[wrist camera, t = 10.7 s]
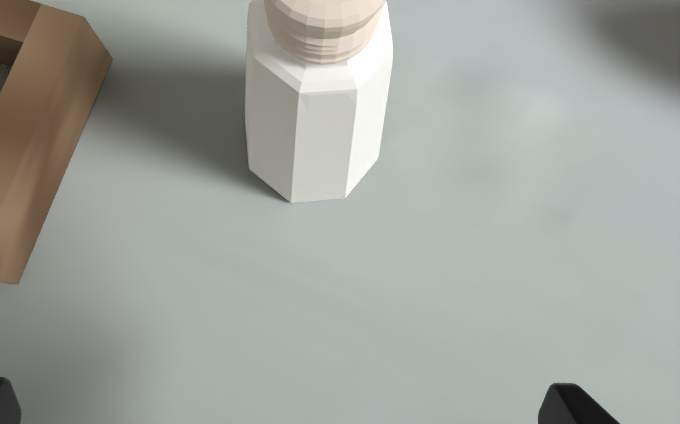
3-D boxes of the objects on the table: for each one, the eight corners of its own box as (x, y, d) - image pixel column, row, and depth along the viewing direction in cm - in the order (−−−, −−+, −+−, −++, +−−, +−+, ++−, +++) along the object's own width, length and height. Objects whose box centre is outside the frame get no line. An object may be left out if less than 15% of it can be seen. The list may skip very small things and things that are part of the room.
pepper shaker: (266, 58, 22) (239, -193, 11) (395, 98, 22) (487, -114, 12) (222, 183, 21) (146, 34, 10) (358, 224, 21) (424, 119, 10)
